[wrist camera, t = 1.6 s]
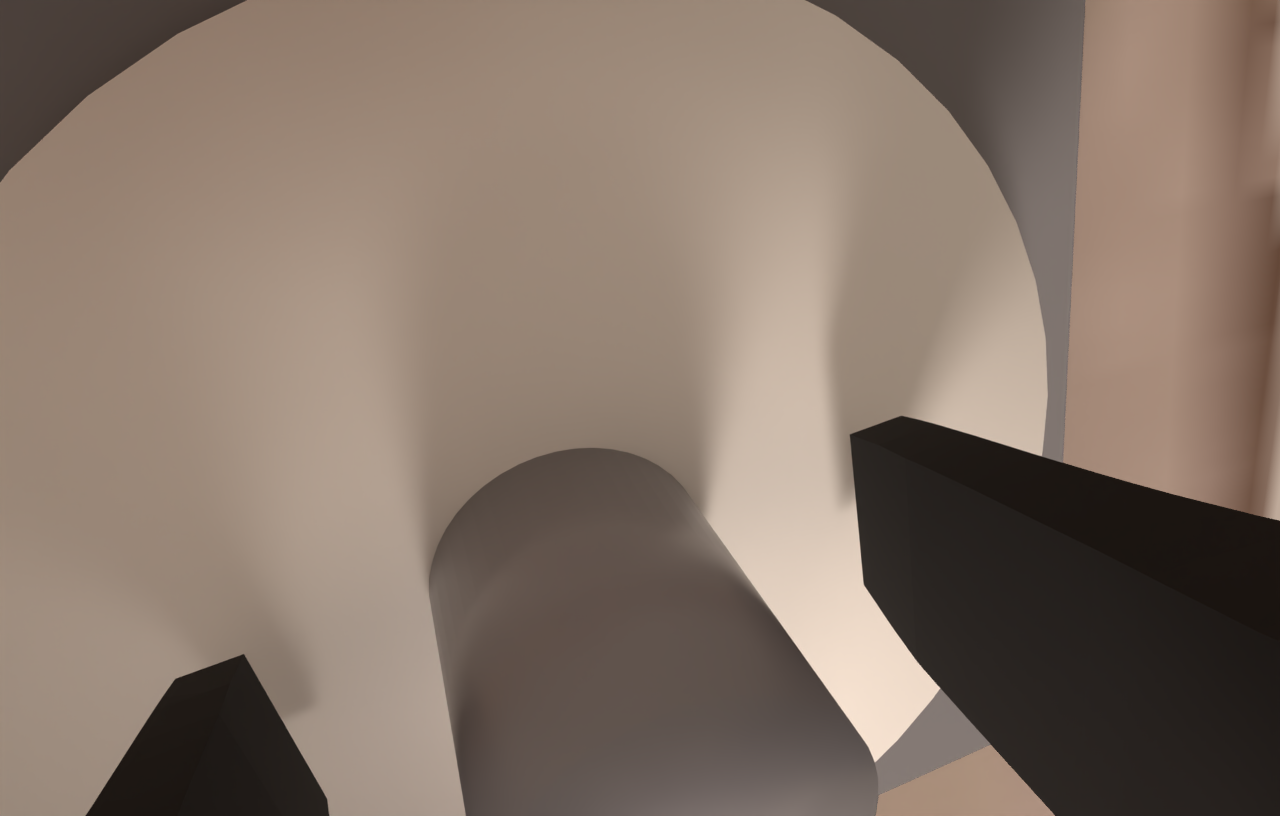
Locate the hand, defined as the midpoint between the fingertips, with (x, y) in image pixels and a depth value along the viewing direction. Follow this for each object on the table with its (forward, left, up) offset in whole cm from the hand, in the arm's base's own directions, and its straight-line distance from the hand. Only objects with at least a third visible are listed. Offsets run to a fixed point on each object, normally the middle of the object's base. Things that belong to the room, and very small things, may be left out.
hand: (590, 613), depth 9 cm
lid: (0, 0, -2) cm, 2 cm away
